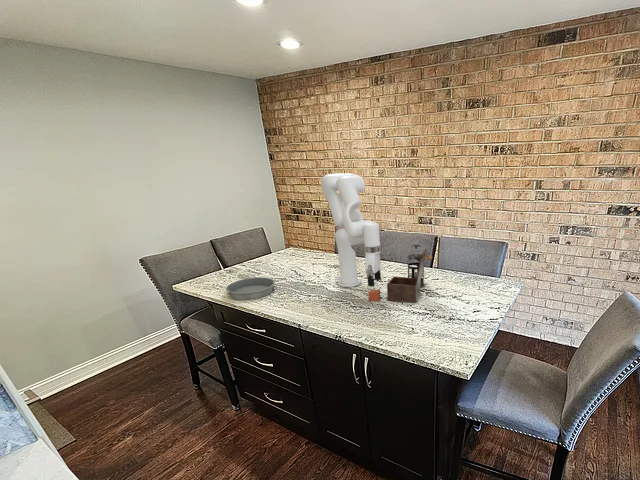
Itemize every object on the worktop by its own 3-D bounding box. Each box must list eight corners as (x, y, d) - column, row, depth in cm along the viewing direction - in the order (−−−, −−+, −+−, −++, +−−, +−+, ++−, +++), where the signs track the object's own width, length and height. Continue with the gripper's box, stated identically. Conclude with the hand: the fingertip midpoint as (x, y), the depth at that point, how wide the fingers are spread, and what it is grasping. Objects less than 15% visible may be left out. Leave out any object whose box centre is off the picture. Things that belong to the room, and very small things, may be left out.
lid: (420, 254, 156) (430, 257, 156) (425, 248, 167) (434, 250, 166) (414, 285, 163) (424, 287, 162) (419, 277, 173) (428, 279, 172)
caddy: (387, 300, 170) (387, 283, 167) (393, 292, 180) (393, 276, 177) (415, 302, 166) (415, 286, 163) (420, 294, 177) (420, 278, 173)
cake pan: (239, 305, 167) (238, 296, 166) (220, 293, 183) (218, 285, 181) (284, 291, 184) (283, 283, 182) (263, 281, 199) (261, 274, 198)
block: (369, 300, 170) (368, 292, 168) (372, 297, 174) (371, 289, 172) (377, 301, 169) (377, 293, 167) (380, 297, 173) (380, 289, 171)
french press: (420, 289, 183) (420, 248, 174) (404, 287, 186) (404, 246, 178) (427, 282, 193) (428, 243, 184) (412, 280, 196) (412, 241, 188)
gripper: (371, 244, 170) (373, 277, 176) (358, 253, 154) (361, 288, 161) (385, 245, 168) (386, 278, 174) (374, 253, 153) (376, 289, 159)
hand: (374, 282), depth 168 cm, fingers open, 9 cm apart
